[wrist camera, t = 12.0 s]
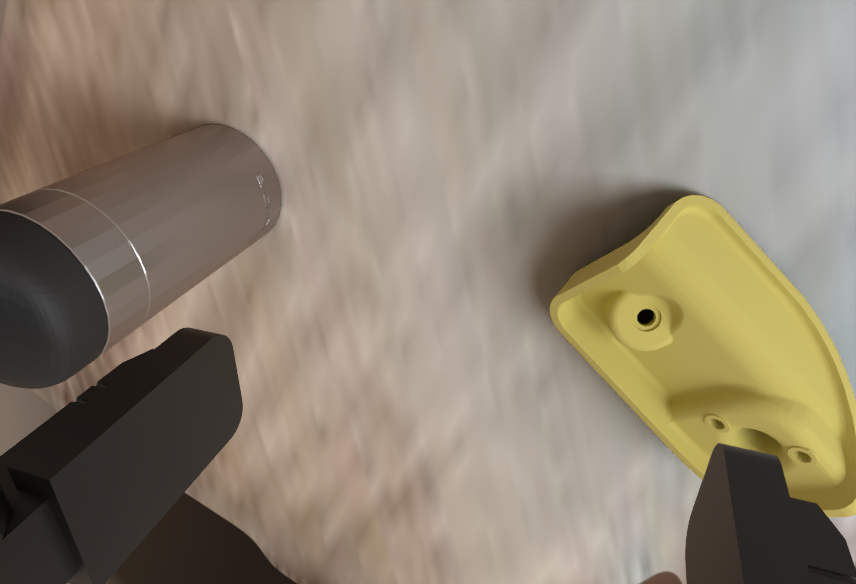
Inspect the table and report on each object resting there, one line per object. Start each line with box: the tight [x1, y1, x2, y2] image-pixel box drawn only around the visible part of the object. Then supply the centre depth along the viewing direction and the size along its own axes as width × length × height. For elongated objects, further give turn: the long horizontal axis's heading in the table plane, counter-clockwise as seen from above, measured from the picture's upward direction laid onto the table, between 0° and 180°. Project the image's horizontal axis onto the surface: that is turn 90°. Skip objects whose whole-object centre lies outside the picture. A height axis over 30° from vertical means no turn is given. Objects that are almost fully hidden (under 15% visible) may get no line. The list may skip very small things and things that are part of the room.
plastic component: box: [550, 195, 856, 517], centre depth 38 cm, size 20×7×10 cm
